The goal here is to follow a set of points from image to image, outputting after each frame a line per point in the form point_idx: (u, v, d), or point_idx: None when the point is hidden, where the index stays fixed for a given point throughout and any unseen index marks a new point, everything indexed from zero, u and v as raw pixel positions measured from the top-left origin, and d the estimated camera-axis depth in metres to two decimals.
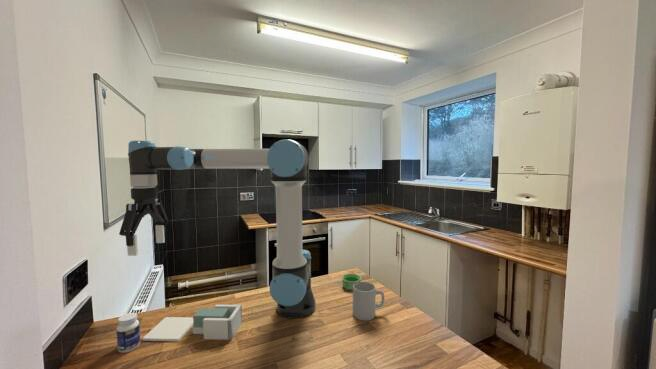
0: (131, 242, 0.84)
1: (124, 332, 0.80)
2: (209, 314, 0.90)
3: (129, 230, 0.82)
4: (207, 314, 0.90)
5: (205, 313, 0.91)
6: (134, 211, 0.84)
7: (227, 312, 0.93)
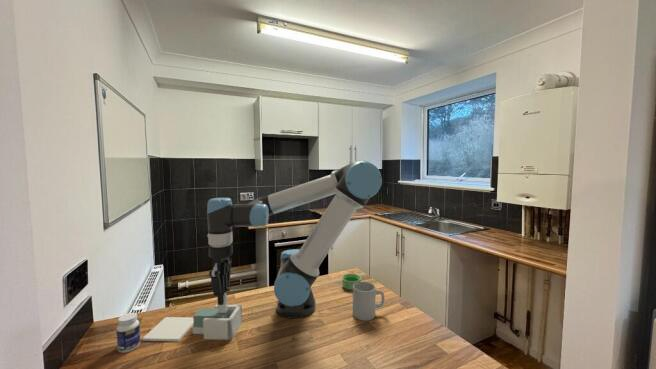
0: (222, 301, 0.90)
1: (124, 332, 0.80)
2: (209, 314, 0.90)
3: (221, 291, 0.88)
4: (207, 314, 0.90)
5: (206, 313, 0.91)
6: (218, 276, 0.85)
7: (227, 312, 0.93)
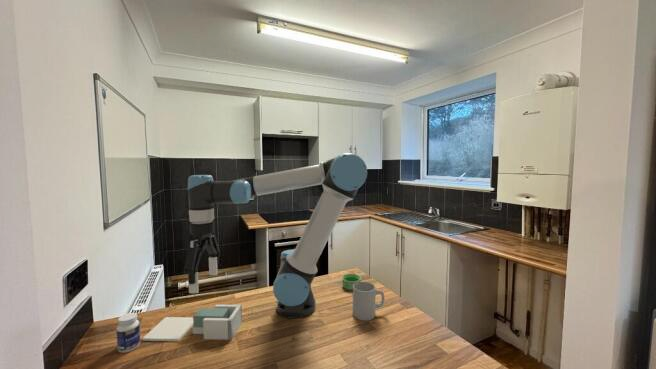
0: (193, 280, 0.83)
1: (124, 332, 0.80)
2: (209, 314, 0.90)
3: (192, 268, 0.81)
4: (207, 314, 0.90)
5: (205, 313, 0.91)
6: (196, 248, 0.83)
7: (227, 312, 0.93)
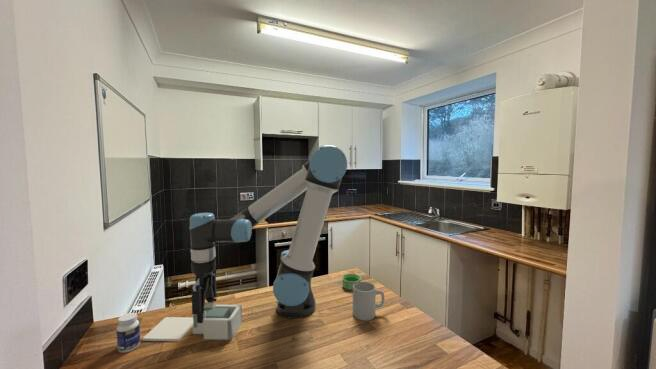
0: (201, 319, 0.88)
1: (124, 332, 0.80)
2: (209, 314, 0.90)
3: (200, 309, 0.86)
4: (207, 314, 0.90)
5: None
6: (199, 291, 0.85)
7: (227, 312, 0.93)
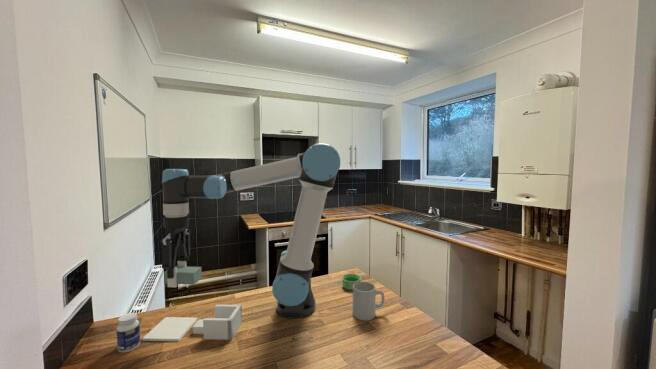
0: (172, 275, 0.87)
1: (124, 332, 0.80)
2: (180, 271, 0.89)
3: (170, 264, 0.85)
4: (178, 271, 0.89)
5: (177, 270, 0.90)
6: (170, 245, 0.84)
7: (199, 270, 0.92)
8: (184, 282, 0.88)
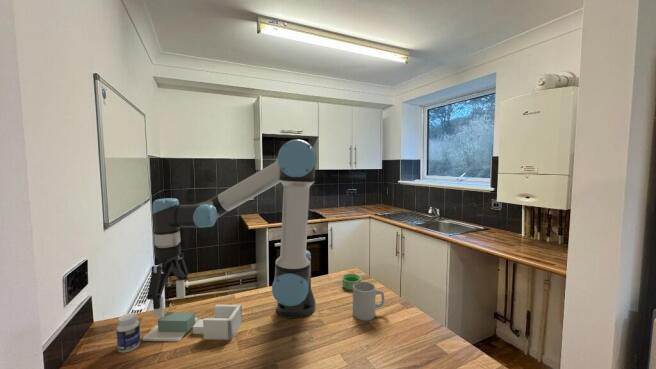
0: (158, 305, 0.84)
1: (124, 332, 0.80)
2: (174, 319, 0.90)
3: (156, 294, 0.83)
4: (172, 319, 0.90)
5: (170, 318, 0.91)
6: (159, 273, 0.84)
7: (193, 317, 0.93)
8: (178, 330, 0.90)
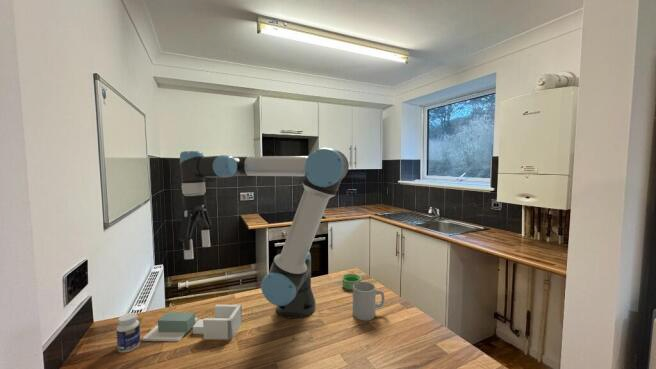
0: (188, 246, 0.89)
1: (124, 332, 0.80)
2: (174, 319, 0.90)
3: (187, 235, 0.88)
4: (172, 319, 0.90)
5: (170, 318, 0.91)
6: (190, 217, 0.90)
7: (193, 317, 0.93)
8: (178, 330, 0.90)
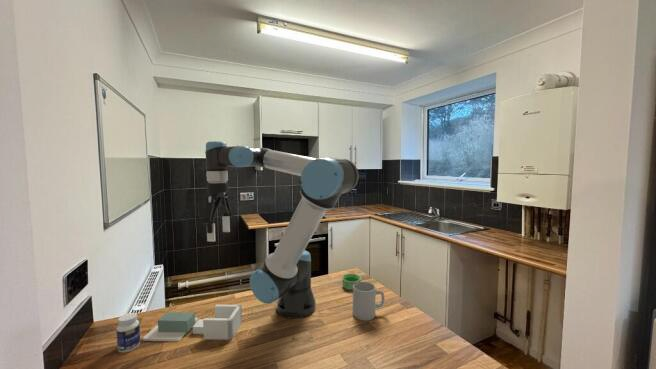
0: (211, 229, 0.97)
1: (124, 332, 0.80)
2: (174, 319, 0.90)
3: (210, 219, 0.95)
4: (172, 319, 0.90)
5: (170, 318, 0.91)
6: (213, 203, 0.97)
7: (193, 317, 0.93)
8: (178, 330, 0.90)
